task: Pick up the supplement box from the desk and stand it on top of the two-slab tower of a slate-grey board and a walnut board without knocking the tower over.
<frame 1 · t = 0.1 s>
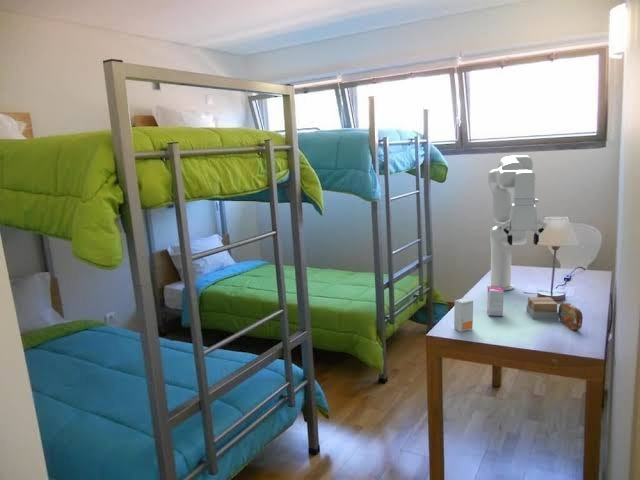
hand: (522, 244, 196), 31 cm above the table, tool pointing down, fingers open, 9 cm apart
supplement box: (494, 315, 206), on the table
tower base: (542, 316, 203), on the table, touching tower top
tower top: (542, 308, 203), point 3 cm above the table, touching tower base
skincare box: (463, 329, 191), on the table
tin: (569, 326, 190), on the table
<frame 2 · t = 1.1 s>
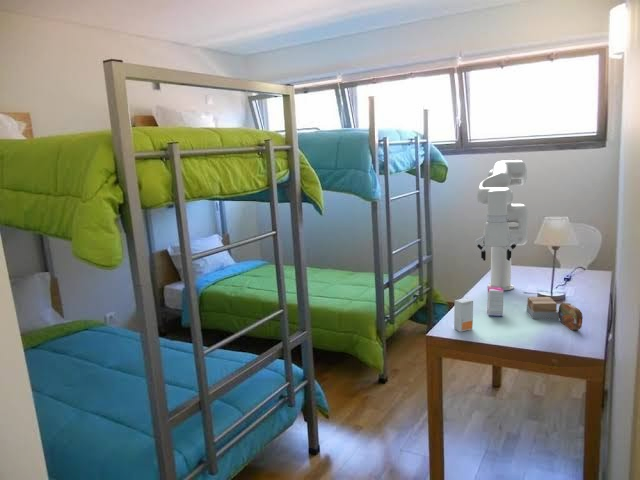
hand: (495, 259, 202), 24 cm above the table, tool pointing down, fingers open, 9 cm apart
tower base: (542, 316, 203), on the table
tower top: (541, 308, 203), point 3 cm above the table
everything else where it was.
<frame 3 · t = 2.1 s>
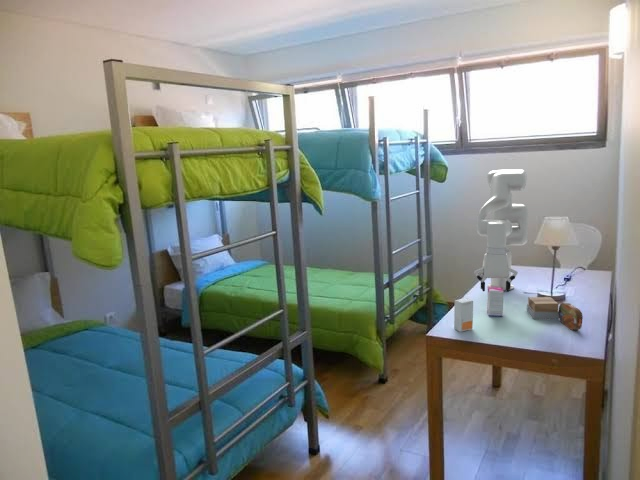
hand: (495, 290, 204), 11 cm above the table, tool pointing down, fingers open, 9 cm apart
tower base: (542, 316, 203), on the table, touching tower top
tower top: (542, 308, 202), point 3 cm above the table, touching tower base
everything else where it was.
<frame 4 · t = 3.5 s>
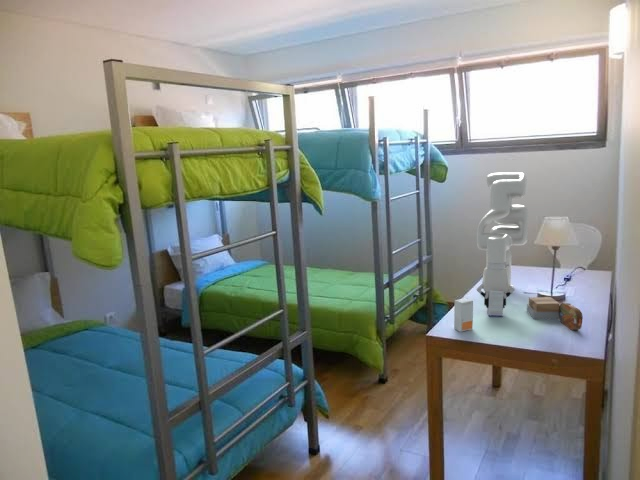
hand: (495, 306, 206), 4 cm above the table, tool pointing down, fingers closed on supplement box, 5 cm apart
supplement box: (494, 315, 206), on the table, touching gripper
everything else where it was.
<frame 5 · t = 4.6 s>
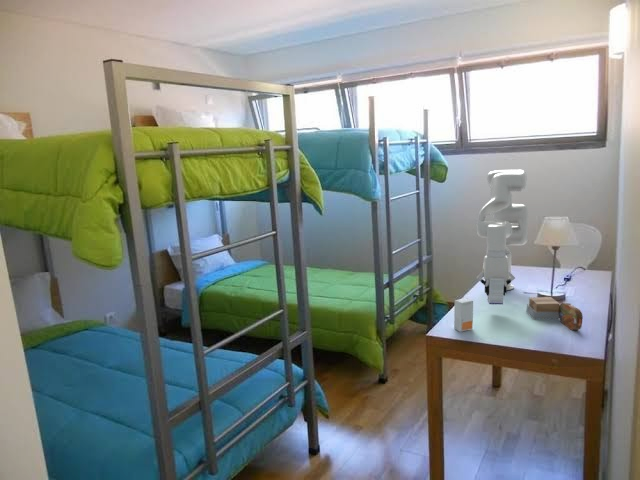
hand: (495, 294, 205), 9 cm above the table, tool pointing down, fingers closed on supplement box, 5 cm apart
supplement box: (495, 302, 206), point 5 cm above the table, touching gripper
everything else where it was.
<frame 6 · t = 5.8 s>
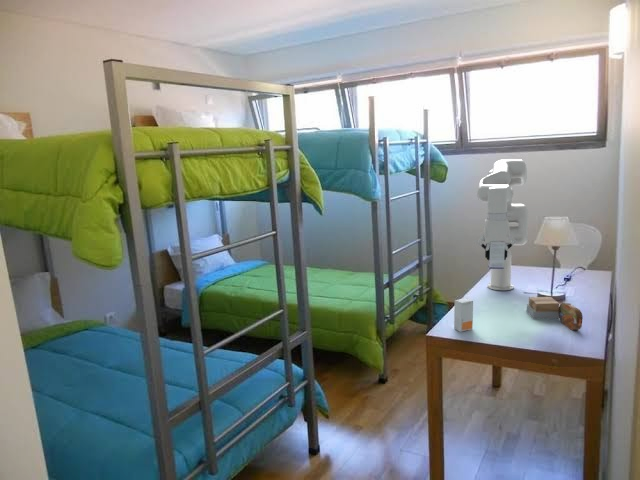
hand: (496, 258, 202), 24 cm above the table, tool pointing down, fingers closed on supplement box, 5 cm apart
supplement box: (495, 267, 203), point 21 cm above the table, touching gripper
tower base: (542, 316, 203), on the table
tower top: (543, 308, 202), point 3 cm above the table
everything else where it was.
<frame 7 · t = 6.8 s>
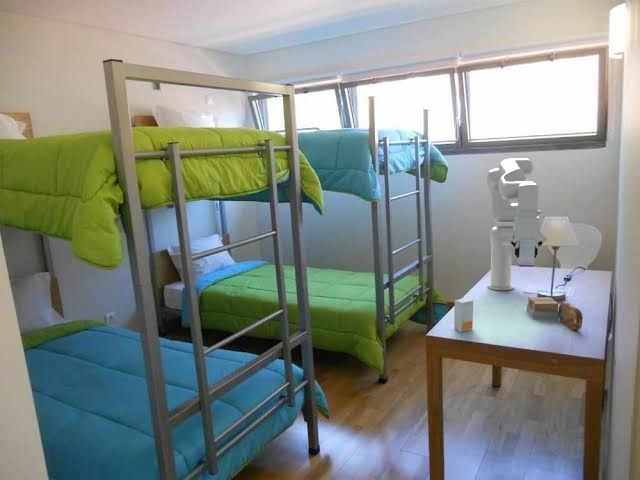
hand: (525, 256, 200), 25 cm above the table, tool pointing down, fingers closed on supplement box, 5 cm apart
supplement box: (525, 265, 200), point 22 cm above the table, touching gripper
tower base: (542, 316, 203), on the table, touching tower top
tower top: (542, 308, 202), point 3 cm above the table, touching tower base
everything else where it was.
when the fingers open (12 cm above the table, at t = 9.6 s): supplement box drops 2 cm, point 6 cm above the table.
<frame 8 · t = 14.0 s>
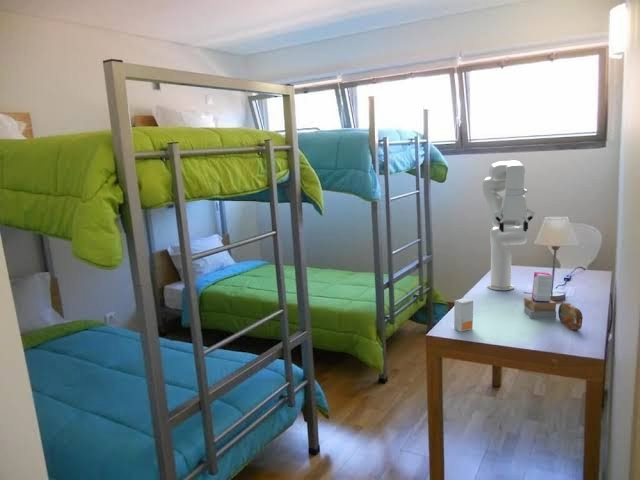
hand: (513, 231, 214), 33 cm above the table, tool pointing down, fingers open, 9 cm apart
supplement box: (540, 300, 202), point 6 cm above the table
tower top: (539, 308, 203), point 3 cm above the table, touching tower base
at the end: supplement box inside the target area on the tower base (0.9 cm from its centre), point 6.9 cm above the tower base's base; tower top 0.4 cm off-centre on the tower base, point 3.5 cm above the tower base's base; supplement box tilted 2° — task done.
